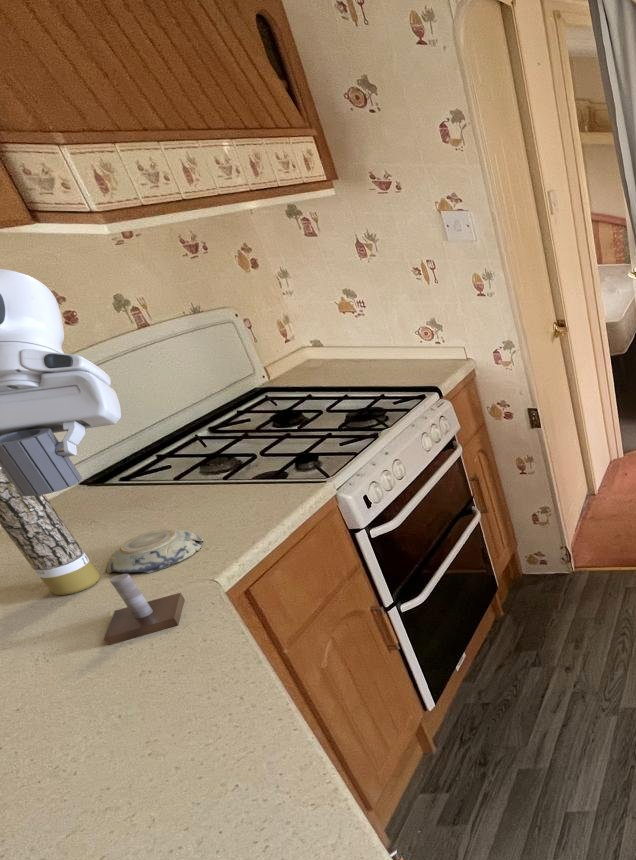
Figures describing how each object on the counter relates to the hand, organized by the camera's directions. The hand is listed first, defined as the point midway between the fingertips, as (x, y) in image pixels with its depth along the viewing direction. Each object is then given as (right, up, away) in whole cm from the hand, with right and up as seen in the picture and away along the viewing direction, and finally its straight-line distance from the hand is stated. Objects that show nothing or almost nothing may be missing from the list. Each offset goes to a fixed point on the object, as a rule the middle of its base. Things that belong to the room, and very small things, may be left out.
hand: (31, 460), depth 97 cm
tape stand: (0, -25, +17) cm, 31 cm away
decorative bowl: (-16, -15, +36) cm, 43 cm away
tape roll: (0, -3, +3) cm, 4 cm away
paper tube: (-23, -20, +28) cm, 41 cm away
